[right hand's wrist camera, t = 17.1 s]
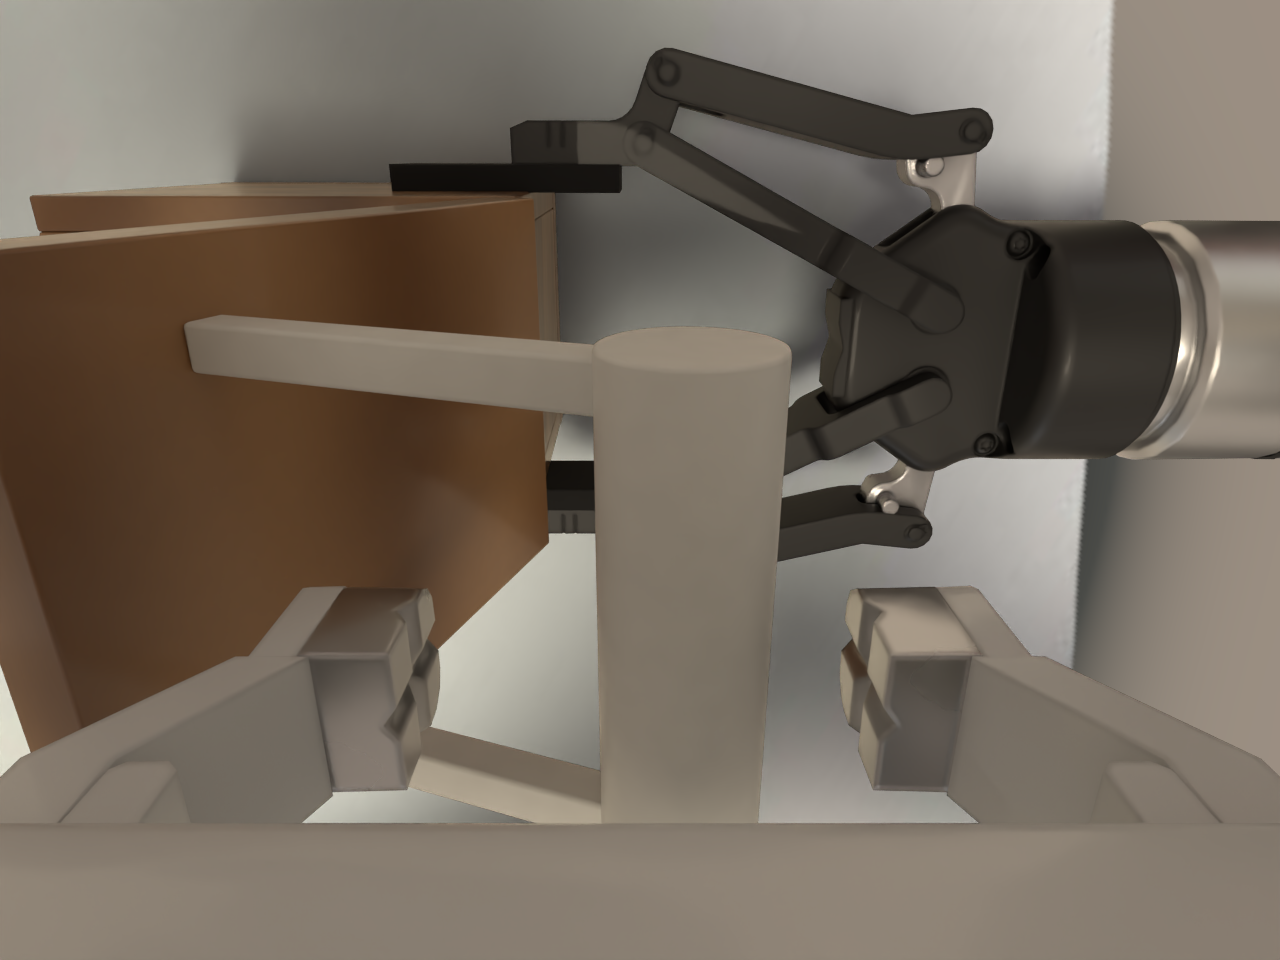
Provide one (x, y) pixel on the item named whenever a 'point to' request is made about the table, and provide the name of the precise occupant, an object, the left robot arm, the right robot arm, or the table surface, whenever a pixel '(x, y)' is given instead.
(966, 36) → the table surface
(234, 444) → the lid
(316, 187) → the chest
